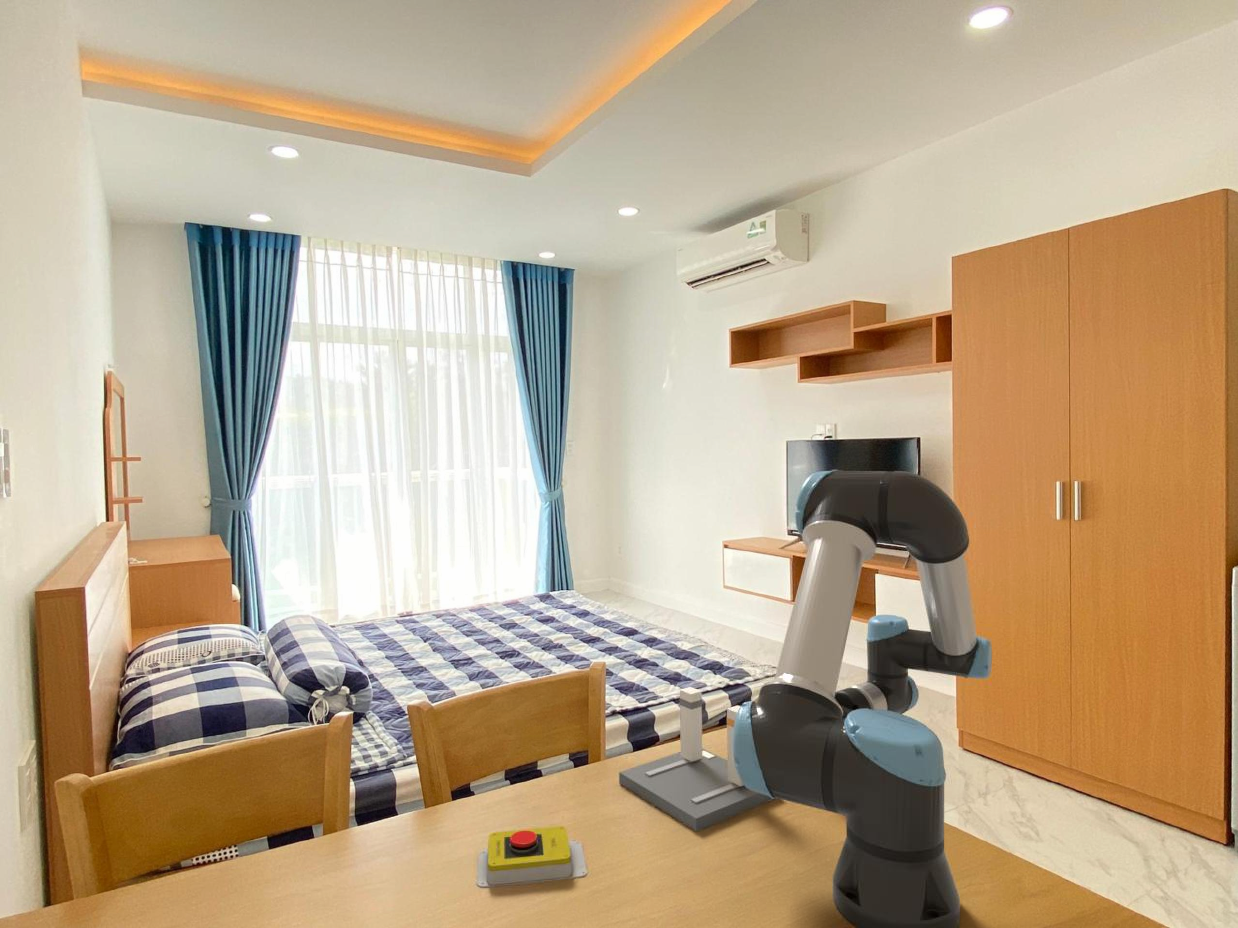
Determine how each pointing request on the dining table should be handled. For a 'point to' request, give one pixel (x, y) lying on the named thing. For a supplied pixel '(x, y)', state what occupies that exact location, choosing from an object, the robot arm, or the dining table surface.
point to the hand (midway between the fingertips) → (778, 734)
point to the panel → (691, 789)
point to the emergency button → (530, 857)
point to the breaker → (691, 723)
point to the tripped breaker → (731, 745)
